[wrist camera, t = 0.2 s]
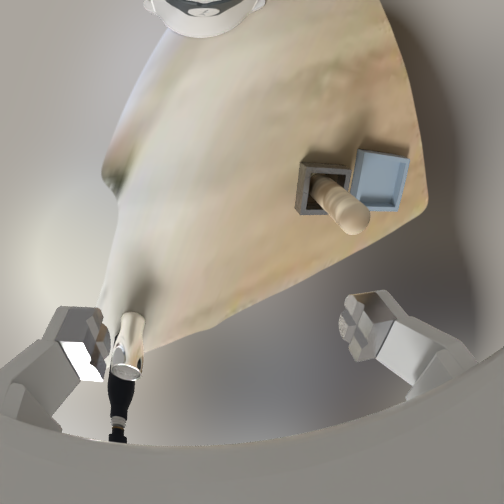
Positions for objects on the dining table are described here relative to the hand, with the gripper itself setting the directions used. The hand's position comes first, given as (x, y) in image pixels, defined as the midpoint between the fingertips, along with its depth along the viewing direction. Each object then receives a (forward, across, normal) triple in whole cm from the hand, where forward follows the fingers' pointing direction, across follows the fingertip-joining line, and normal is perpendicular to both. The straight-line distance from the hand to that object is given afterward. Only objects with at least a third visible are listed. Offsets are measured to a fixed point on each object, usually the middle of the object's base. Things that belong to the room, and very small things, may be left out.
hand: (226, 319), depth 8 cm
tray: (+40, -34, +4) cm, 53 cm away
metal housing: (+40, -21, +6) cm, 46 cm away
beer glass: (+42, +19, +38) cm, 59 cm away
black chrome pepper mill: (+42, +22, +46) cm, 66 cm away
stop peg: (+40, -21, +6) cm, 46 cm away
